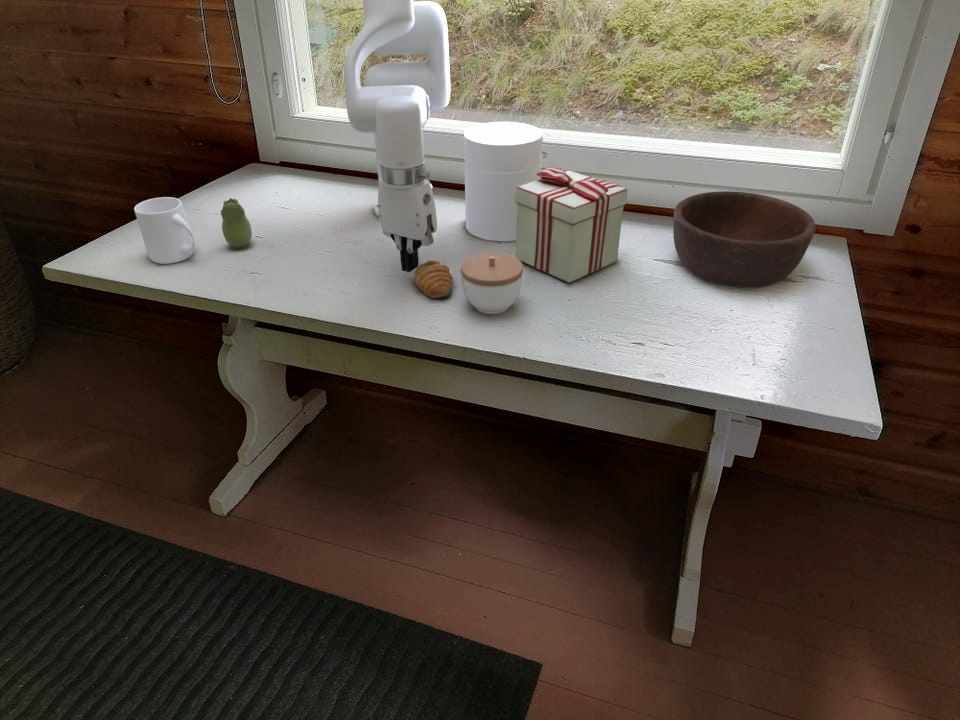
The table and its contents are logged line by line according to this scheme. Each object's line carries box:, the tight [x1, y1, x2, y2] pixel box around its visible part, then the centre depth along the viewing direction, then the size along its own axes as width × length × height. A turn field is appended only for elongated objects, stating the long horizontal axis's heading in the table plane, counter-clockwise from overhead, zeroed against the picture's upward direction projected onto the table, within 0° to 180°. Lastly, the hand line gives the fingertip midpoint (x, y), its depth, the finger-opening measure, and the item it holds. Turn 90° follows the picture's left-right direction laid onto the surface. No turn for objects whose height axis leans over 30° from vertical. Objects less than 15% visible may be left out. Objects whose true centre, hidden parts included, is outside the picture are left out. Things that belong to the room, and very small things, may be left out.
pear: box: [220, 197, 253, 249], centre depth 141 cm, size 6×5×10 cm
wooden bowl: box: [672, 190, 816, 289], centre depth 132 cm, size 25×25×10 cm
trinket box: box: [460, 252, 524, 315], centre depth 120 cm, size 11×11×9 cm
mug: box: [133, 196, 196, 265], centre depth 137 cm, size 9×12×11 cm
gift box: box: [515, 166, 628, 284], centre depth 133 cm, size 17×18×17 cm
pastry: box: [414, 259, 454, 299], centre depth 127 cm, size 9×7×4 cm
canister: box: [463, 121, 544, 242], centre depth 145 cm, size 16×16×20 cm
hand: (410, 268), depth 130 cm, fingers closed
